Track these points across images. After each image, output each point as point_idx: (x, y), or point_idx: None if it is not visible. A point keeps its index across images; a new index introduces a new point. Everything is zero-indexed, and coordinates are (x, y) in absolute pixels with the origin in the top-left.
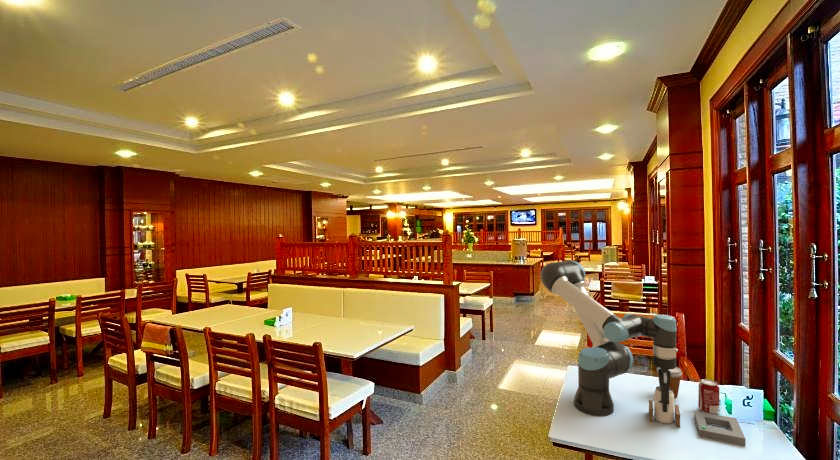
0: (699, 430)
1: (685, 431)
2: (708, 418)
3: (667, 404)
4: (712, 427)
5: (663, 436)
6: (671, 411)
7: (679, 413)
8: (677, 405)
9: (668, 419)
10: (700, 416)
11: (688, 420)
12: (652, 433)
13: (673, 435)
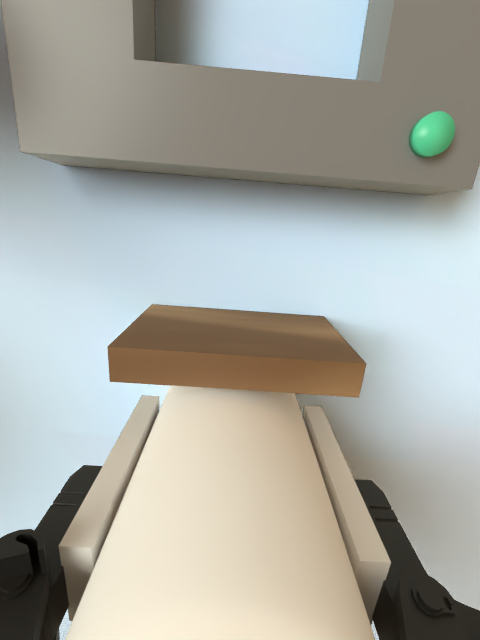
0: (466, 189)
1: (370, 287)
2: (136, 13)
3: (380, 556)
4: (398, 20)
5: (475, 429)
6: (298, 427)
7: (335, 366)
8: (118, 356)
9: (324, 413)
10: (148, 108)
11: (162, 230)
12: (448, 479)
13: (450, 373)
